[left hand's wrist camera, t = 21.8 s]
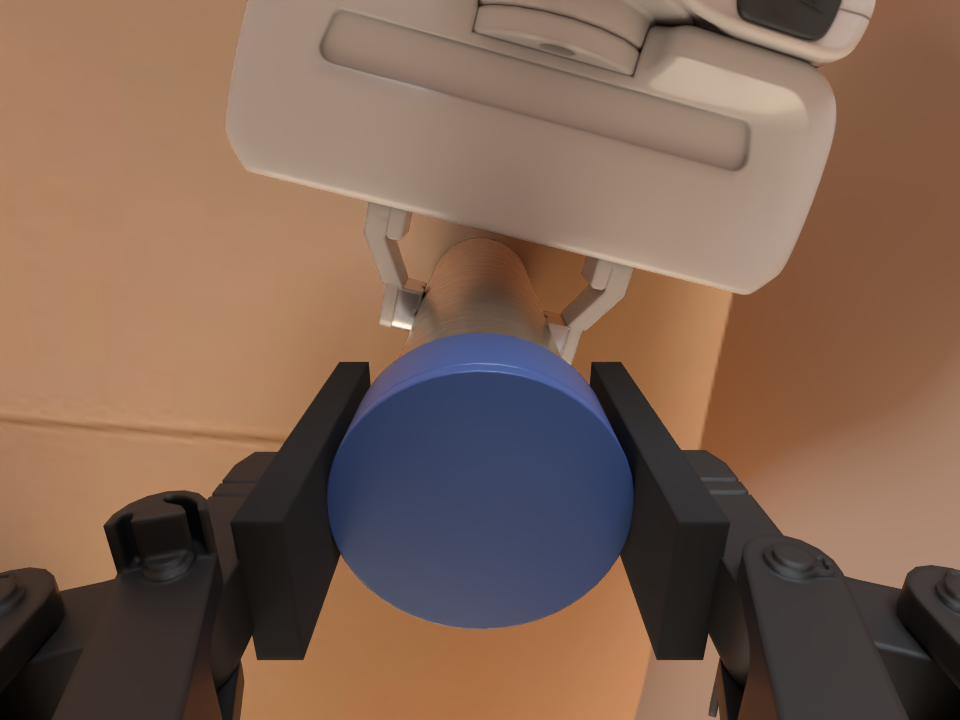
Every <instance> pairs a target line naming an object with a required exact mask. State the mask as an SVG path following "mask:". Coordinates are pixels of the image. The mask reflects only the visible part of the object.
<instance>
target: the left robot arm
mask: <svg viewBox="0 0 960 720" xmlns="http://www.w3.org/2000/svg"><path fill="white" fill-rule="evenodd" d="M590 387H591V388H592V390H593V391H594V393H595V394H596V396H597V398H598V400H599V402H600V404H601V406H602V408H603V411H604V413H605V415H606V417H607V419H608V421H609V423H610V425H611V427H612V429H613V431H614V433H615V435H616V437H617V439H618V441H619V443H620V445H621V448H622V450H623V452H624V454H625V456H626V458H627V461H628V464H629V467H630V471H631V474H632V480H633V487H634V503H633V512H632V520H631V528H630V531H629V534H628V537H627V540H626V543H625V545H624V547H623V549H622V551H621V553H620V556H621V559H622V562H623V565H624V568H625V570H626V573H627V576H628V579H629V582H630V585H631V588H632V590H633V593H634V596H635V599H636V602H637V605H638V607H639V610H640V613H641V616H642V619H643V622H644V625H645V627H646V630H647V633H648V636H649V639H650V642H651V645H652V647H653V650H654V653H655V656H656V659H657V660H703V657H704V653H705V648H706V643H707V637H708V633H709V635H710V637H711V639H712V641H713V643H714V645H715V647H716V649H717V652H718V654H719V656H720V659H719V664H718V669H717V673H716V678H715V683H714V687H713V692H712V697H711V701H710V708H709V716H712V717H716V715H717V710H718V706H719V713H720V720H960V570H956V569H953V568H947V567H940V566H934V565H929V566H920V567H915V568H914V569H913V570H911V571H910V572H909V573H907V576H906V579H905V582H904V585H903V587H902V589H898V588H894V587H889V586H884V585H880V584H875V583H870V582H865V581H861V580H857V579H853V578H849V577H846V576H844V574H843V572H842V571H841V570H840V568H839V567H838V566H837V564H836V563H835V562H834V560H833V559H831V558H830V557H829V556H827V555H826V554H825V553H823V552H822V551H821V550H820V549H818V548H816V547H814V546H812V545H810V544H808V543H806V542H804V541H801V540H798V539H795V538H791V537H787V536H784V535H783V534H782V533H781V532H780V530H779V529H778V528H777V527H776V525H775V524H774V523H773V522H772V520H771V519H770V518H769V517H768V515H767V514H766V513H765V512H764V510H763V509H762V508H761V507H760V505H759V504H758V503H757V502H756V500H755V499H754V498H753V497H752V495H749V494H748V490H747V489H746V488H745V487H744V485H743V484H742V483H741V482H738V478H737V477H736V475H735V474H734V473H733V472H732V470H731V469H730V468H729V467H728V465H727V464H726V463H724V462H723V461H721V460H720V459H718V458H717V457H715V456H714V455H712V454H710V453H709V452H707V451H706V450H681V449H680V448H679V446H678V445H677V444H676V442H675V441H674V439H673V438H672V436H671V435H670V433H669V432H668V430H667V429H666V427H665V426H664V425H663V423H662V422H661V420H660V419H659V417H658V416H657V414H656V413H655V411H654V410H653V408H652V407H651V406H650V404H649V403H648V401H647V400H646V398H645V397H644V395H643V394H642V392H641V391H640V389H639V388H638V387H637V385H636V384H635V382H634V381H633V379H632V378H631V376H630V375H629V373H628V372H627V370H626V369H625V368H624V366H623V365H622V363H621V362H592V364H591V377H590ZM369 388H370V373H369V362H339V364H338V365H337V367H336V368H335V369H334V371H333V372H332V374H331V375H330V377H329V378H328V380H327V381H326V383H325V384H324V386H323V387H322V388H321V390H320V391H319V393H318V394H317V396H316V397H315V399H314V400H313V402H312V403H311V405H310V406H309V408H308V409H307V410H306V412H305V413H304V415H303V416H302V418H301V419H300V421H299V422H298V424H297V425H296V427H295V428H294V429H293V431H292V432H291V434H290V435H289V437H288V438H287V440H286V441H285V443H284V444H283V446H282V447H281V448H280V450H279V451H278V452H254V453H253V454H251V455H250V456H248V457H247V458H245V459H244V460H242V461H240V462H239V463H237V464H236V465H235V466H234V467H233V468H232V469H231V471H230V472H229V473H228V474H227V476H226V477H225V478H224V479H223V483H222V484H219V486H218V487H217V488H216V489H215V491H214V492H213V493H212V494H213V495H212V497H209V498H208V500H206V499H205V498H204V497H203V496H201V495H200V494H199V493H195V492H190V491H185V490H184V491H167V492H163V493H159V494H155V495H150V496H147V497H145V498H142V499H140V500H137V501H135V502H133V503H130V504H128V505H127V506H125V507H124V508H122V509H121V510H119V511H118V512H116V513H115V514H113V515H112V517H111V518H110V519H109V520H108V521H107V522H106V523H105V525H104V530H105V533H106V537H107V540H108V543H109V547H110V550H111V553H112V557H113V560H114V563H115V567H116V570H117V575H116V578H115V579H112V580H109V581H105V582H101V583H96V584H92V585H87V586H82V587H78V588H73V589H69V590H64V591H59V589H58V586H57V583H56V580H55V578H54V576H53V575H52V574H51V573H50V572H48V571H47V570H46V569H39V568H23V569H17V570H10V571H7V572H3V573H0V720H240V715H241V706H242V698H243V689H244V675H243V669H242V664H241V657H242V655H243V653H244V651H245V649H246V647H247V645H248V643H249V640H250V638H251V636H253V641H254V646H255V651H256V656H257V660H304V657H305V654H306V651H307V648H308V645H309V643H310V640H311V637H312V634H313V631H314V628H315V626H316V623H317V620H318V617H319V614H320V611H321V608H322V606H323V603H324V600H325V597H326V594H327V591H328V588H329V586H330V583H331V580H332V577H333V574H334V571H335V568H336V566H337V563H338V560H339V557H340V554H341V553H340V551H339V550H338V548H337V545H336V543H335V540H334V538H333V535H332V532H331V528H330V524H329V517H328V509H327V484H328V478H329V474H330V470H331V466H332V463H333V461H334V458H335V456H336V453H337V451H338V449H339V446H340V444H341V442H342V440H343V438H344V436H345V434H346V432H347V430H348V428H349V426H350V424H351V422H352V420H353V418H354V416H355V414H356V411H357V409H358V407H359V405H360V403H361V401H362V399H363V398H364V396H365V394H366V393H367V391H368V389H369Z"/></svg>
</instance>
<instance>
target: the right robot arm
mask: <svg viewBox="0 0 960 720" xmlns="http://www.w3.org/2000/svg"><path fill="white" fill-rule="evenodd" d="M875 2H876V0H248V1H247V5H246V9H245V13H244V17H243V21H242V25H241V29H240V34H239V38H238V43H237V48H236V53H235V58H234V63H233V68H232V75H231V81H230V87H229V94H228V102H227V109H226V119H225V133H226V137H227V140H228V142H229V143H230V145H231V147H232V149H233V151H234V152H235V154H236V156H237V158H238V159H239V161H240V163H241V164H242V166H243V167H244V168H245V169H246V170H248V171H250V172H253V173H256V174H260V175H264V176H268V177H272V178H276V179H280V180H284V181H288V182H292V183H296V184H300V185H304V186H308V187H312V188H316V189H320V190H324V191H328V192H332V193H336V194H340V195H344V196H348V197H352V198H356V199H360V200H364V201H369V205H368V211H367V217H366V223H365V229H364V235H365V237H366V240H367V243H368V245H369V248H370V251H371V253H372V256H373V259H374V261H375V264H376V267H377V269H378V272H379V275H380V277H381V280H382V283H385V284H386V285H385V291H384V296H383V302H382V307H381V312H380V318H379V324H380V325H383V326H387V327H390V328H391V327H392V328H397V329H402V330H406V331H410V329H411V327H412V324H413V322H414V319H415V317H416V314H417V312H418V310H419V307H420V305H421V302H422V300H423V297H424V295H425V291H426V286H427V283H425V282H421V281H418V280H414V279H410V278H408V275H407V272H406V269H405V265H404V262H403V259H402V256H401V253H400V250H399V247H398V244H397V241H396V240H400V239H401V238H402V237H403V236H404V235H405V234H406V233H407V232H408V231H409V227H410V222H411V217H412V212H413V213H417V214H421V215H425V216H429V217H433V218H437V219H441V220H445V221H449V222H453V223H457V224H461V225H465V226H469V227H473V228H477V229H481V230H485V231H489V232H493V233H497V234H501V235H505V236H509V237H513V238H517V239H521V240H525V241H529V242H533V243H537V244H541V245H545V246H549V247H553V248H557V249H561V250H565V251H569V252H573V253H577V254H581V255H585V256H586V259H585V263H584V266H583V269H582V273H581V274H582V276H583V277H584V279H585V280H586V281H587V282H588V283H589V284H590V285H589V286H588V287H587V288H586V289H585V290H584V291H583V292H582V293H581V294H580V295H579V296H578V297H577V298H576V299H575V300H574V301H573V302H572V303H571V304H570V305H569V306H568V307H567V308H566V309H565V310H564V311H563V312H562V313H561V314H556V313H552V312H547V311H543V313H544V316H545V318H546V321H547V323H548V326H549V328H550V331H551V333H552V336H553V338H554V340H555V343H556V345H557V348H558V350H559V353H560V355H561V358H562V359H564V360H565V361H566V362H567V363H569V364H570V365H571V364H572V361H573V358H574V355H575V352H576V349H577V346H578V343H579V340H580V337H581V334H582V331H583V330H584V331H586V330H587V329H588V328H589V327H591V326H592V325H593V324H594V323H595V322H596V321H597V320H598V319H600V318H601V317H602V316H603V315H604V314H605V313H606V312H608V311H609V310H610V309H611V308H612V307H613V306H614V305H615V304H617V303H618V302H619V301H620V300H621V299H622V298H623V297H624V296H625V293H626V290H627V287H628V284H629V281H630V279H631V276H632V273H633V270H634V268H638V269H642V270H646V271H650V272H654V273H658V274H662V275H666V276H670V277H674V278H678V279H682V280H686V281H690V282H694V283H698V284H702V285H706V286H710V287H714V288H718V289H722V290H726V291H730V292H734V293H738V294H743V295H748V294H751V293H753V292H754V291H756V290H758V289H759V288H761V287H762V286H764V285H765V284H766V283H768V282H769V281H771V280H772V279H773V278H775V277H776V276H777V275H778V274H779V273H780V272H781V271H782V269H783V268H784V266H785V265H786V263H787V261H788V259H789V257H790V255H791V253H792V251H793V249H794V246H795V244H796V242H797V239H798V237H799V234H800V232H801V230H802V227H803V225H804V223H805V220H806V217H807V215H808V212H809V210H810V207H811V205H812V202H813V199H814V196H815V193H816V191H817V188H818V185H819V182H820V179H821V176H822V173H823V170H824V167H825V164H826V161H827V158H828V154H829V151H830V148H831V144H832V140H833V136H834V131H835V124H836V103H835V97H834V93H833V90H832V88H831V86H830V84H829V82H828V81H827V79H826V78H825V77H824V75H823V74H822V73H821V72H820V71H819V70H817V69H816V68H819V67H822V66H824V65H827V64H829V63H831V62H834V61H836V60H839V59H841V58H843V57H845V56H847V55H848V54H849V53H851V52H852V51H853V50H854V48H855V47H856V46H857V44H858V43H859V41H860V40H861V38H862V36H863V34H864V32H865V30H866V28H867V26H868V24H869V20H870V19H871V16H872V14H873V10H874V7H875Z"/></svg>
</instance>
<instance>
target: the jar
mask: <svg viewBox="0 0 960 720" xmlns="http://www.w3.org/2000/svg"><path fill="white" fill-rule="evenodd" d="M469 333H495V334H501V335H507V336H513V337H517V338H520V339H523V340H527V341H530V342H533V343H535V344H537V345H539V346H542V347H544V348H546V349H548V350H550V351H551V352H553V353H554V354H556V355H558V356H559V357H561V355H560V353H559V350H558V348H557V345H556V343H555V340H554V338H553V336H552V333H551V331H550V328H549V326H548V323H547V321H546V318H545V316H544V313H543V311H542V308H541V306H540V304H539V301H538V299H537V296H536V294H535V291H534V289H533V286H532V284H531V281H530V279H529V276H528V274H527V271H526V269H525V267H524V265H523V263H522V261H521V259H520V258H519V257H518V255H517V254H516V253H515V252H514V251H513V250H512V249H510V248H509V247H508V246H506V245H505V244H503V243H501V242H498V241H496V240H492V239H487V238H473V239H468V240H464V241H462V242H459V243H457V244H456V245H454V246H452V247H451V248H450V249H449V250H447V251H446V252H445V253H444V254H443V256H442V257H441V258H440V260H439V261H438V263H437V265H436V267H435V270H434V272H433V275H432V277H431V280H430V282H429V285H428V287H427V290H426V292H425V295H424V297H423V300H422V302H421V305H420V307H419V310H418V312H417V314H416V317H415V319H414V322H413V324H412V327H411V329H410V332H409V334H408V337H407V339H406V342H405V344H404V347H403V349H402V352H401V354H400V357H402V356H403V355H404V354H406V353H407V352H409V351H411V350H413V349H415V348H417V347H419V346H421V345H423V344H426V343H428V342H431V341H434V340H437V339H440V338H444V337H449V336H453V335H458V334H469ZM400 357H399V358H400Z"/></svg>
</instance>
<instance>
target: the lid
mask: <svg viewBox="0 0 960 720" xmlns="http://www.w3.org/2000/svg"><path fill="white" fill-rule="evenodd" d="M633 503H634V487H633V480H632V474H631V471H630V467H629V464H628V461H627V458H626V456H625V454H624V452H623V450H622V448H621V445H620V443H619V441H618V439H617V437H616V435H615V433H614V431H613V429H612V427H611V425H610V423H609V421H608V419H607V417H606V415H605V413H604V411H603V408H602V406H601V404H600V402H599V400H598V398H597V396H596V394H595V393H594V391H593V390H592V388H591V387H590V386H589V384H588V383H587V381H586V380H585V379H584V378H583V377H582V376H581V375H580V374H579V372H578V371H577V370H576V369H575V368H573V367H572V366H571V365H570V364H569V363H567V362H566V361H565V360H564V359H562V358H561V357H559V356H558V355H556V354H554V353H553V352H551V351H550V350H548V349H546V348H544V347H542V346H539V345H537V344H535V343H533V342H530V341H527V340H523V339H520V338H517V337H513V336H507V335H501V334H495V333H469V334H458V335H453V336H449V337H444V338H440V339H437V340H434V341H431V342H428V343H426V344H423V345H421V346H419V347H417V348H415V349H413V350H411V351H409V352H407V353H406V354H404V355H403V356H402V357H400V358H399V359H397V360H396V361H394V362H393V363H392V364H391V365H390V366H389V367H387V368H386V369H385V370H384V371H383V372H382V373H381V374H380V375H379V376H378V378H377V379H376V380H375V381H374V382H373V384H372V385H371V386H370V388H369V389H368V391H367V393H366V394H365V396H364V398H363V399H362V401H361V403H360V405H359V407H358V409H357V411H356V414H355V416H354V418H353V420H352V422H351V424H350V426H349V428H348V430H347V432H346V434H345V436H344V438H343V440H342V442H341V444H340V446H339V449H338V451H337V453H336V456H335V458H334V461H333V463H332V466H331V470H330V474H329V478H328V484H327V509H328V517H329V524H330V528H331V532H332V535H333V538H334V540H335V543H336V545H337V548H338V550H339V551H340V553H341V555H342V557H343V558H344V560H345V562H346V563H347V565H348V566H349V567H350V569H351V570H352V571H353V573H354V574H355V575H356V577H357V578H358V579H359V580H360V581H361V582H362V583H363V584H364V585H365V586H366V587H367V588H368V589H370V590H371V591H372V592H373V593H375V594H376V595H377V596H378V597H380V598H381V599H382V600H384V601H386V602H387V603H389V604H390V605H392V606H394V607H395V608H397V609H399V610H401V611H403V612H405V613H408V614H410V615H412V616H414V617H417V618H420V619H423V620H426V621H429V622H432V623H436V624H441V625H445V626H450V627H458V628H465V629H492V628H504V627H510V626H516V625H521V624H525V623H528V622H532V621H535V620H538V619H541V618H544V617H546V616H549V615H551V614H554V613H556V612H558V611H559V610H561V609H563V608H565V607H567V606H569V605H571V604H572V603H574V602H575V601H577V600H578V599H579V598H581V597H582V596H584V595H585V594H586V593H587V592H589V591H590V590H591V589H592V588H593V587H594V586H596V585H597V584H598V583H599V581H600V580H601V579H602V578H603V577H604V576H605V575H606V574H607V573H608V571H609V570H610V569H611V567H612V566H613V564H614V563H615V561H616V560H617V558H618V557H619V555H620V553H621V551H622V549H623V547H624V545H625V543H626V540H627V537H628V534H629V531H630V528H631V520H632V512H633Z"/></svg>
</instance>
